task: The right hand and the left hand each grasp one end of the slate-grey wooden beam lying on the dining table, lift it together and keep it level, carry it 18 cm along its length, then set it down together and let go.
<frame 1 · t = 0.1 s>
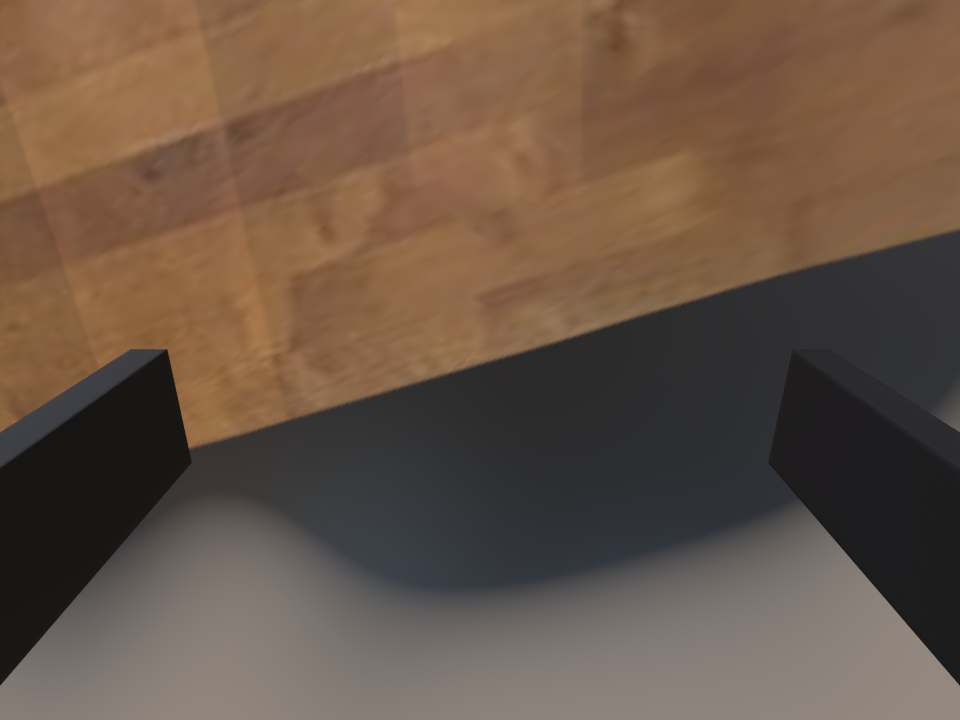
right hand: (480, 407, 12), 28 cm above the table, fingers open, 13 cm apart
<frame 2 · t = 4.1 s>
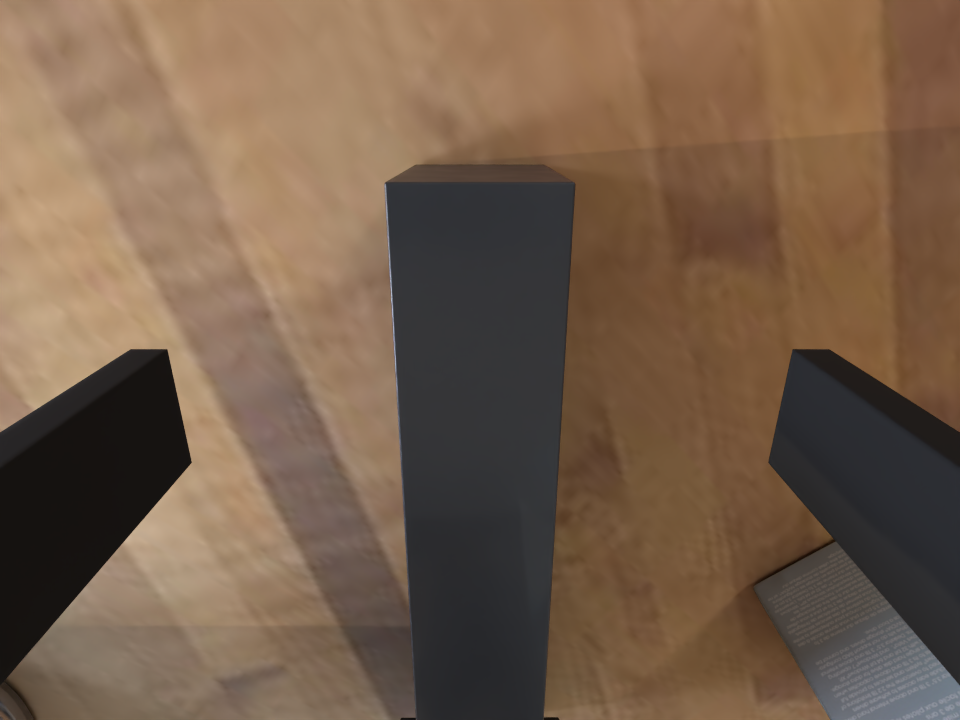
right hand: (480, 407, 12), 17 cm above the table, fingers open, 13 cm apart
slate beam: (479, 495, 33), on the table, touching left hand
hard drive box: (856, 627, 37), on the table
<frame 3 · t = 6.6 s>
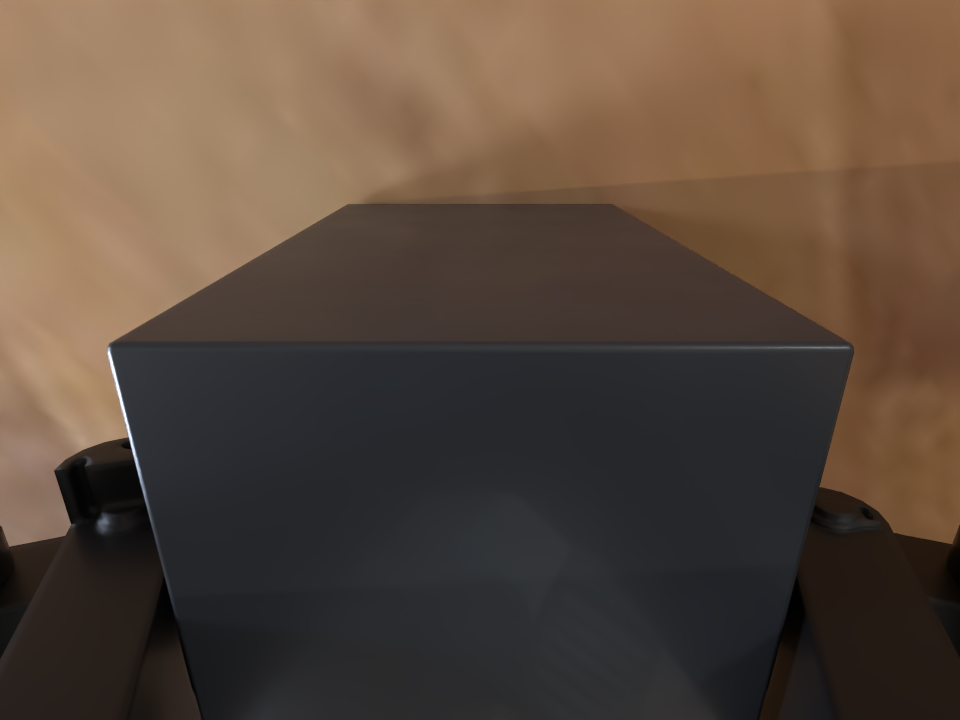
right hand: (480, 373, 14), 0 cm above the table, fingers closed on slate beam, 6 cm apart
when the left hand's fingers open (2 cm above the table, at t = 13.1 s): slate beam drops 2 cm, on the table.
when the right hand's fingers open (2 cm above the table, at t = 13.1 s): slate beam drops 2 cm, on the table.
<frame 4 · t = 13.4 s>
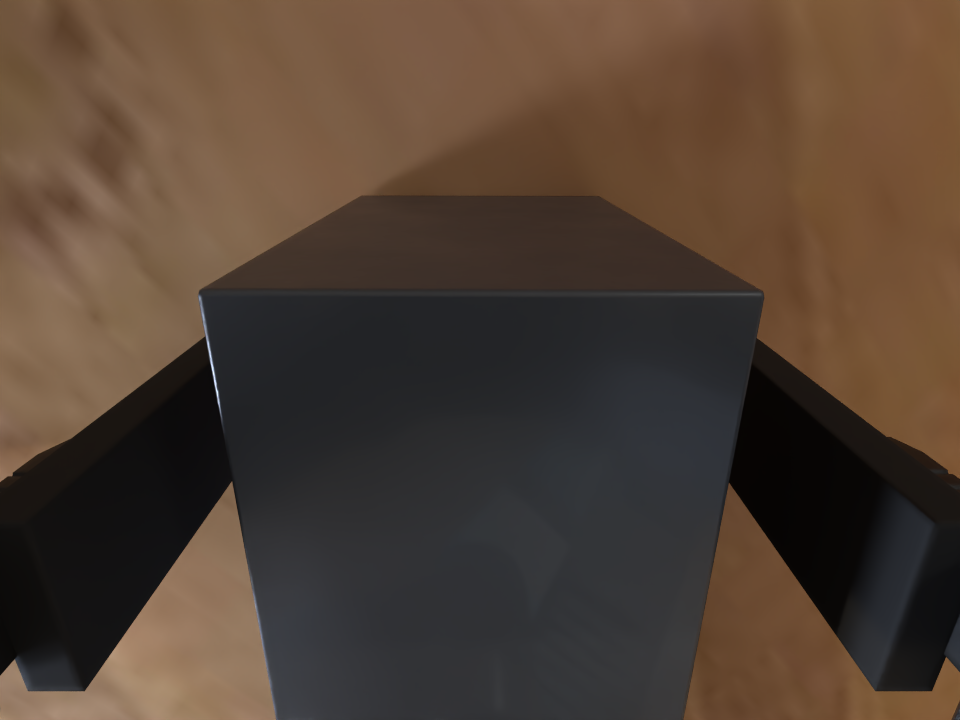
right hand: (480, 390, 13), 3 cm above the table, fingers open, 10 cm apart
slate beam: (478, 706, 21), on the table
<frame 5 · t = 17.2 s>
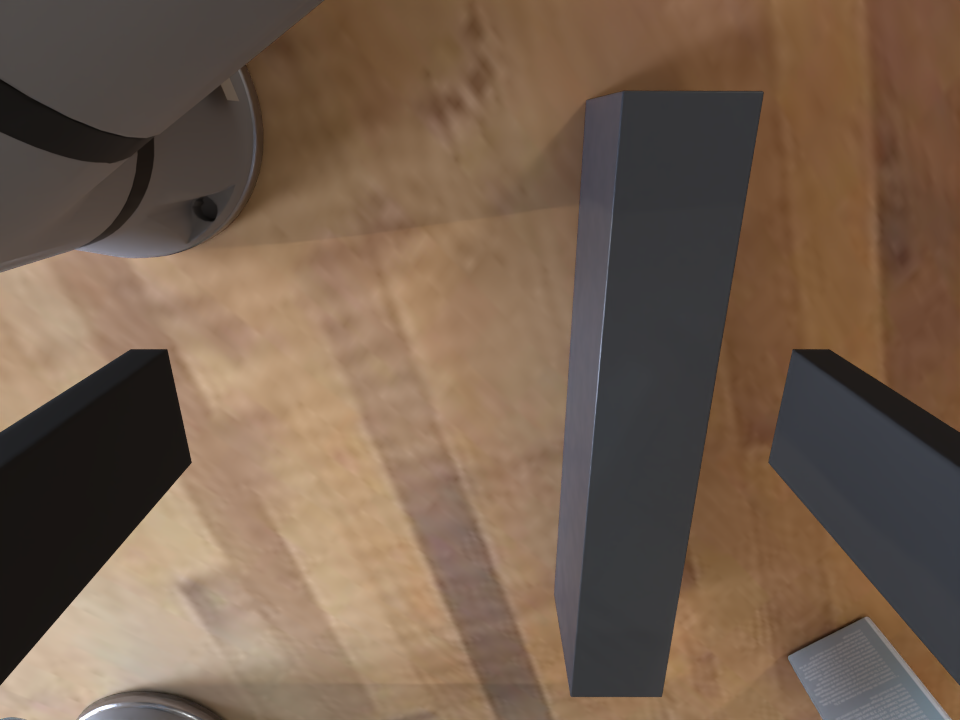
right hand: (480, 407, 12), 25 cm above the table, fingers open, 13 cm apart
slate beam: (611, 389, 39), on the table
hard drive box: (862, 684, 50), on the table
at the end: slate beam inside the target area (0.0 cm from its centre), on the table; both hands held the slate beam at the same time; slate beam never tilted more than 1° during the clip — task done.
